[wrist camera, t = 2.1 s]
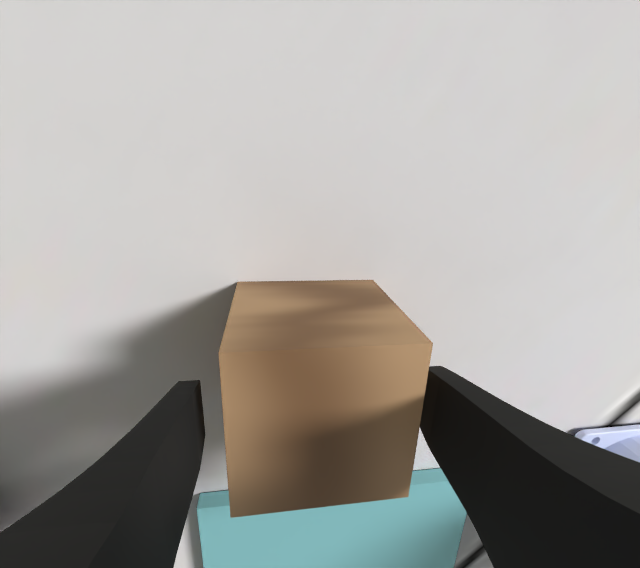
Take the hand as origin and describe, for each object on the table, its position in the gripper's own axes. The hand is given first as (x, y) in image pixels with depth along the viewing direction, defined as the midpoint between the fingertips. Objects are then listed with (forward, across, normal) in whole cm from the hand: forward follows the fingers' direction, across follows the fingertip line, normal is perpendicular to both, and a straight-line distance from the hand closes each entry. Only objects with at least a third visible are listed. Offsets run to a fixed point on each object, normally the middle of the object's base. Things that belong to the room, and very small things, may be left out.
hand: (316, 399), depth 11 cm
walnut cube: (+4, 0, 0) cm, 4 cm away
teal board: (+4, -2, +15) cm, 16 cm away
